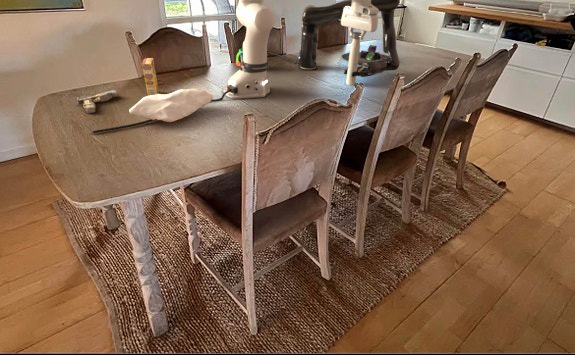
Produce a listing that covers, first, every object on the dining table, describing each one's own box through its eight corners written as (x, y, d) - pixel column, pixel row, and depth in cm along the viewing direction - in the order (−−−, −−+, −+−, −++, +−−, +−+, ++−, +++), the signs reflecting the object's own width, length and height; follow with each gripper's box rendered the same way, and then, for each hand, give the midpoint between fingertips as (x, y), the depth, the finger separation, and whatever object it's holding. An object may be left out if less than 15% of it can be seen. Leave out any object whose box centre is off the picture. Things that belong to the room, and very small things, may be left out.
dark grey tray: (408, 61, 231) (410, 46, 226) (368, 68, 213) (370, 52, 209) (368, 52, 256) (369, 39, 251) (330, 58, 238) (331, 43, 234)
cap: (350, 37, 180) (351, 31, 178) (359, 37, 180) (360, 32, 179) (353, 39, 176) (354, 33, 175) (362, 39, 177) (363, 33, 175)
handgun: (128, 97, 156) (111, 87, 164) (86, 107, 144) (70, 97, 152) (129, 103, 157) (113, 94, 165) (88, 114, 146) (72, 103, 154)
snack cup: (256, 64, 215) (256, 46, 209) (265, 68, 208) (265, 50, 202) (232, 67, 207) (231, 49, 202) (240, 72, 200) (240, 53, 195)
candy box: (157, 97, 164) (152, 63, 155) (147, 98, 163) (141, 63, 155) (158, 91, 171) (153, 57, 163) (149, 91, 170) (143, 58, 162)
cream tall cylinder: (346, 85, 188) (353, 35, 175) (345, 82, 192) (351, 33, 179) (355, 85, 189) (362, 35, 175) (353, 82, 193) (360, 33, 179)
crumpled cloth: (117, 110, 146) (113, 90, 140) (195, 92, 166) (194, 73, 160) (143, 139, 134) (140, 118, 128) (223, 116, 154) (224, 96, 148)
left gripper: (339, 5, 176) (336, 35, 183) (373, 11, 163) (368, 43, 170) (348, 4, 179) (345, 34, 187) (381, 10, 166) (376, 41, 174)
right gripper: (361, 58, 198) (339, 62, 188) (382, 64, 188) (359, 69, 179) (359, 72, 202) (337, 77, 192) (379, 78, 192) (357, 84, 183)
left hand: (356, 38), depth 178 cm, fingers closed on cap, 4 cm apart
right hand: (348, 73), depth 186 cm, fingers closed on cream tall cylinder, 4 cm apart
